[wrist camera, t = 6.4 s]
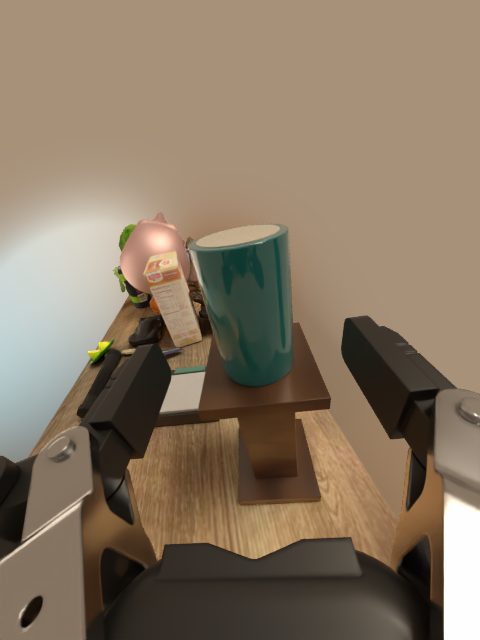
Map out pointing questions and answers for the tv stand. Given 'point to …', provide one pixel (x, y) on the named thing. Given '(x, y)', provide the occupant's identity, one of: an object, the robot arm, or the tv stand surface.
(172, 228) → the head sculpture
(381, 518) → the tv stand surface
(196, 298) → the fossil rock
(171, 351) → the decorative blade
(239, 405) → the stand
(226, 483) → the tv stand surface
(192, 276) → the decorative bottle
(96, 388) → the flashlight
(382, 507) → the tv stand surface
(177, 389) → the scale
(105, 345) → the lemon
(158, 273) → the coffeecake box
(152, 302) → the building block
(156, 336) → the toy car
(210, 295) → the cup
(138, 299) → the beverage can
